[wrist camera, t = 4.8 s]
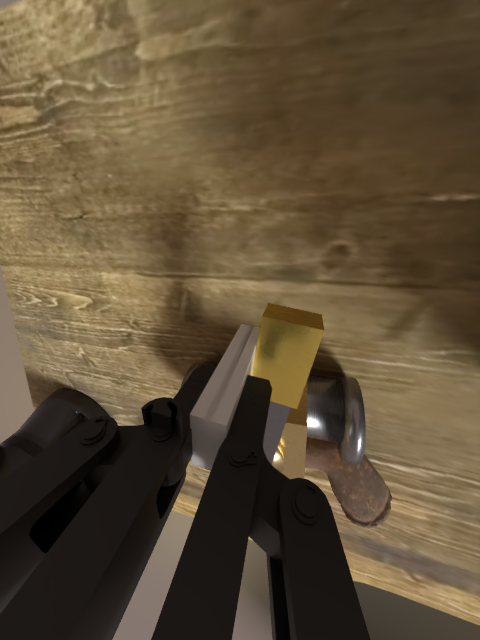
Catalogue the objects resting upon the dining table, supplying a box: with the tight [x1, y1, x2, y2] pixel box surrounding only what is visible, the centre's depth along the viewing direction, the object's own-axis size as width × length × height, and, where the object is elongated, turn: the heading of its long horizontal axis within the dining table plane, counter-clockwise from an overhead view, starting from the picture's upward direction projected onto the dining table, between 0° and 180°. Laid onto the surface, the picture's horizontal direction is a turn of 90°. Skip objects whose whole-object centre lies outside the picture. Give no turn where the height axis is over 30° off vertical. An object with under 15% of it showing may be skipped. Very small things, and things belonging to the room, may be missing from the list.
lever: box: [252, 303, 324, 466], centre depth 14 cm, size 16×3×2 cm, turn 173°
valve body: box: [180, 362, 365, 479], centre depth 22 cm, size 17×8×10 cm, turn 95°
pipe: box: [305, 437, 392, 528], centre depth 27 cm, size 6×17×10 cm
